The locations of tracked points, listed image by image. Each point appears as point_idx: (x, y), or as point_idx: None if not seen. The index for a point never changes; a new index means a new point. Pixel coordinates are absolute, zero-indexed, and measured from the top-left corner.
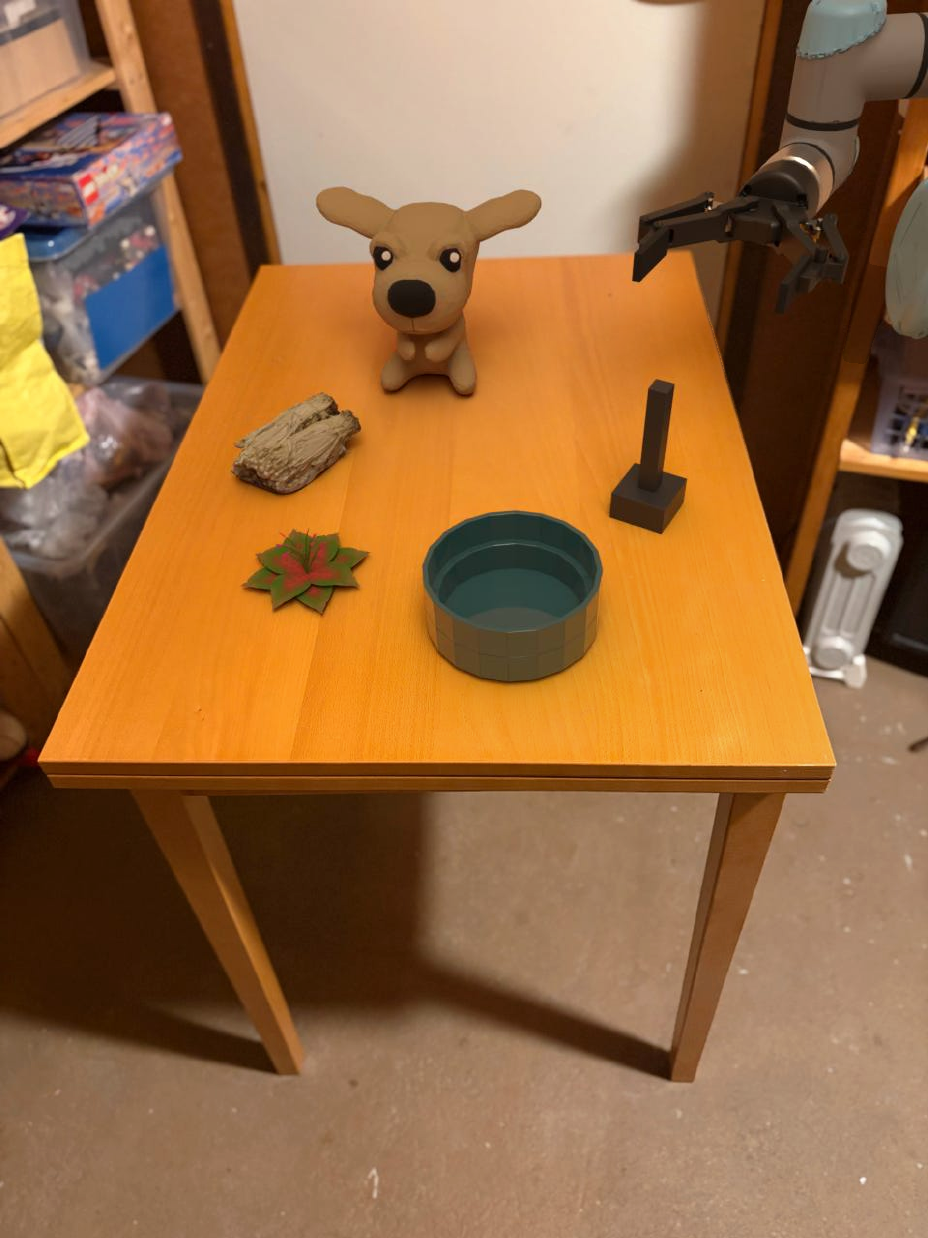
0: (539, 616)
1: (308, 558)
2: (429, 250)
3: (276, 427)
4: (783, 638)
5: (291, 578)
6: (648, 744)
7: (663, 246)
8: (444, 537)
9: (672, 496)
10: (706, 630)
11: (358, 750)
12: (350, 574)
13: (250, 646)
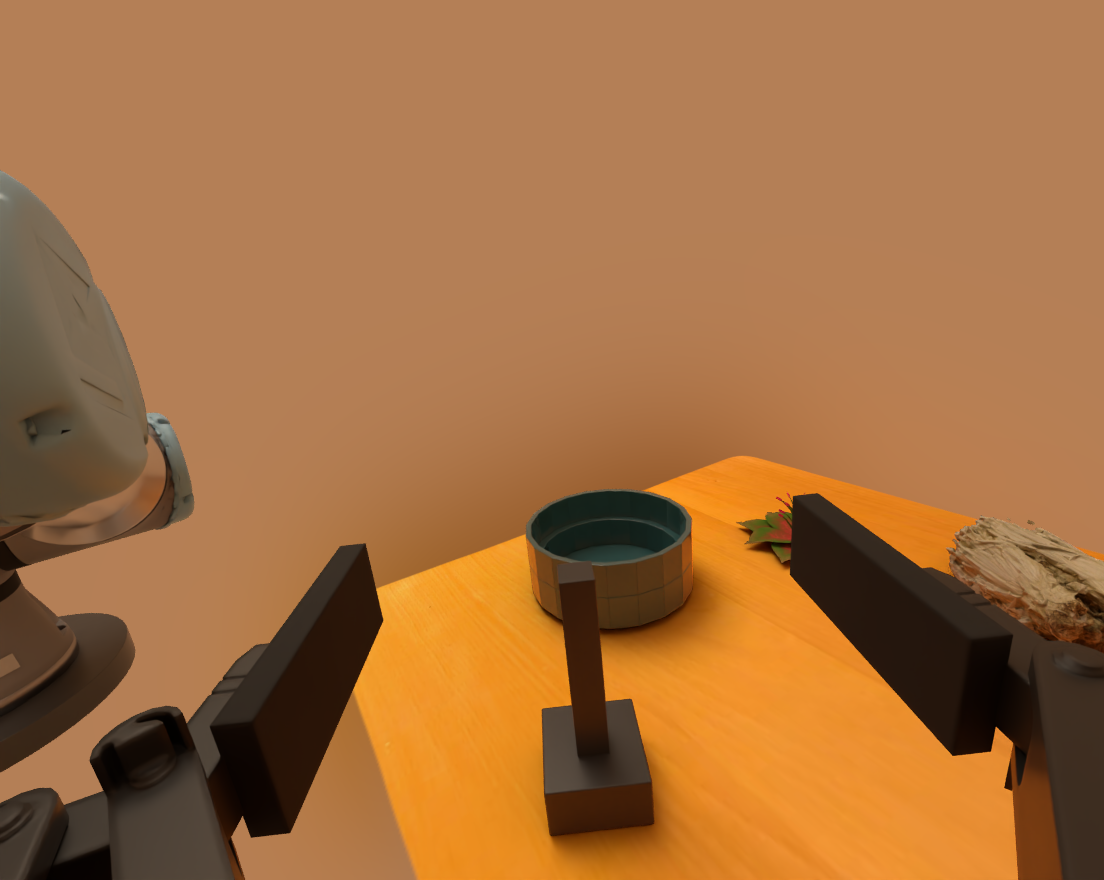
0: None
1: None
2: None
3: (1048, 543)
4: (358, 681)
5: None
6: (456, 565)
7: (913, 655)
8: (684, 515)
9: (545, 738)
10: (440, 652)
11: None
12: (760, 541)
13: (746, 503)
